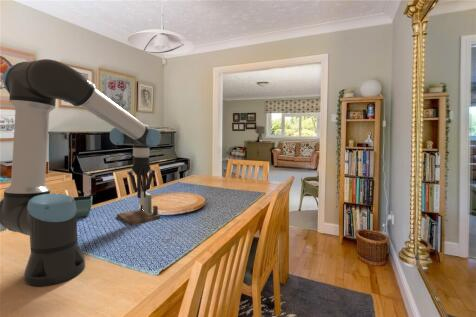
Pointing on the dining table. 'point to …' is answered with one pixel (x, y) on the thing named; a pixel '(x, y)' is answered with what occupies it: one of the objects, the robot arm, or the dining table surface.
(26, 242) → the dining table surface
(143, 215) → the board
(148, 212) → the gate
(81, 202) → the flower pot
